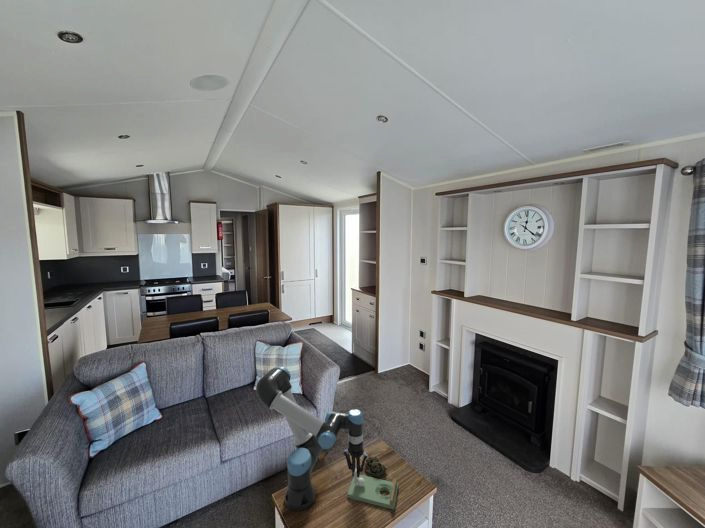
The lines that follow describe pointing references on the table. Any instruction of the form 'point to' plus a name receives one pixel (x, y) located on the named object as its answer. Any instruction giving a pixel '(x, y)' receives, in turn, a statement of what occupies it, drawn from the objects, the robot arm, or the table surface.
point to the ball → (361, 482)
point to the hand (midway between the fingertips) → (356, 481)
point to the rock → (374, 467)
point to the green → (374, 491)
